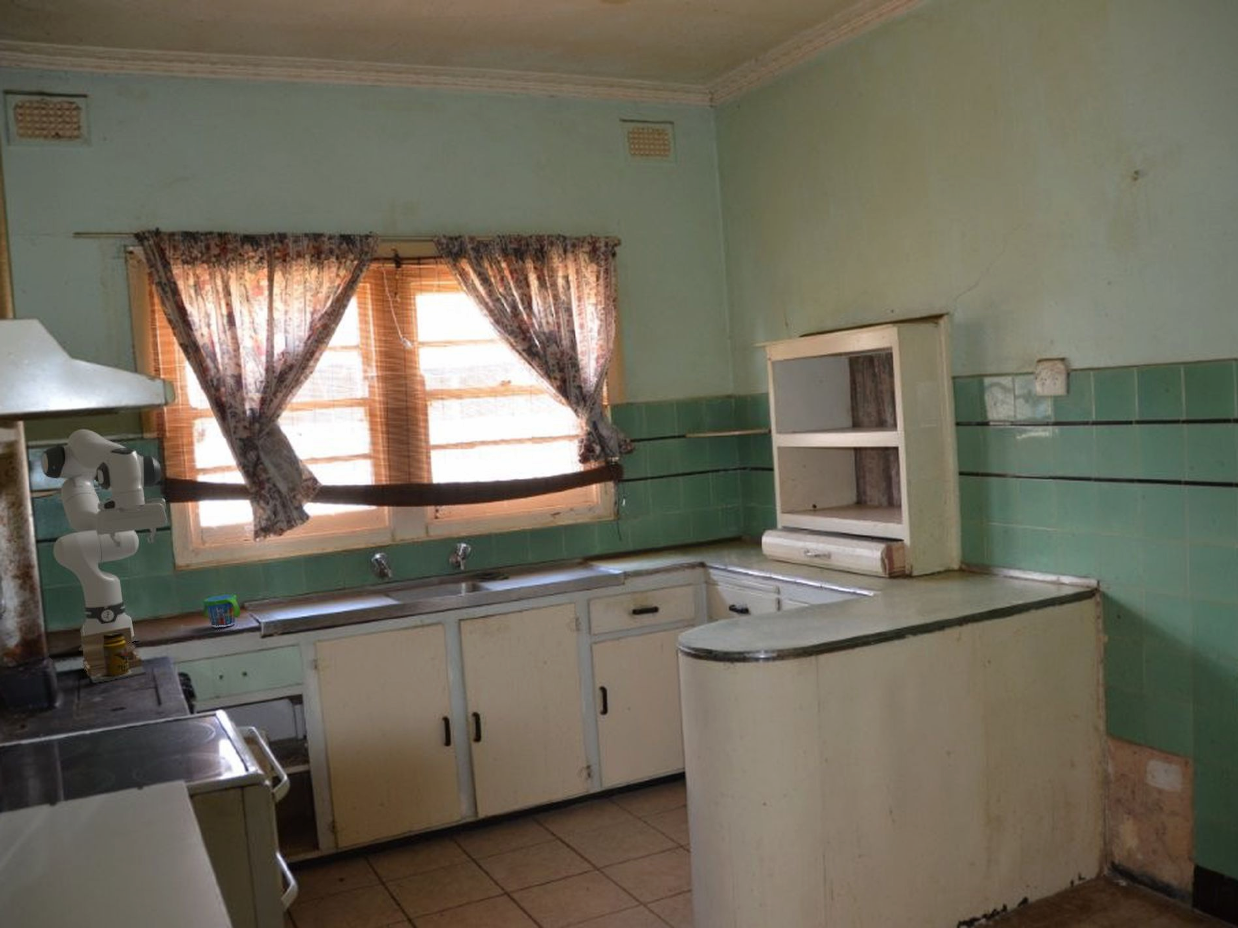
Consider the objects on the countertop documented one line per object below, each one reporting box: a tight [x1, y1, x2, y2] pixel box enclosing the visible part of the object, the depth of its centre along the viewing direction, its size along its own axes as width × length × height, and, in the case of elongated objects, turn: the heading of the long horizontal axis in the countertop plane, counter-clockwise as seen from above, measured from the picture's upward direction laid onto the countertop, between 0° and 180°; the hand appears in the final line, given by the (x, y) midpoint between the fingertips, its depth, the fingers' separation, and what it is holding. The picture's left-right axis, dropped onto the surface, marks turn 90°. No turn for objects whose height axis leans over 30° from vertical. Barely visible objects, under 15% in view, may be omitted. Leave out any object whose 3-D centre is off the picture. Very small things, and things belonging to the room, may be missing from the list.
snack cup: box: [203, 594, 241, 626], centre depth 382 cm, size 16×10×10 cm
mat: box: [89, 665, 147, 684], centre depth 321 cm, size 9×14×1 cm, turn 121°
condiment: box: [97, 632, 132, 679], centre depth 320 cm, size 7×8×12 cm
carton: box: [80, 627, 143, 677], centre depth 333 cm, size 16×15×10 cm
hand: (134, 545), depth 342 cm, fingers open, 8 cm apart
